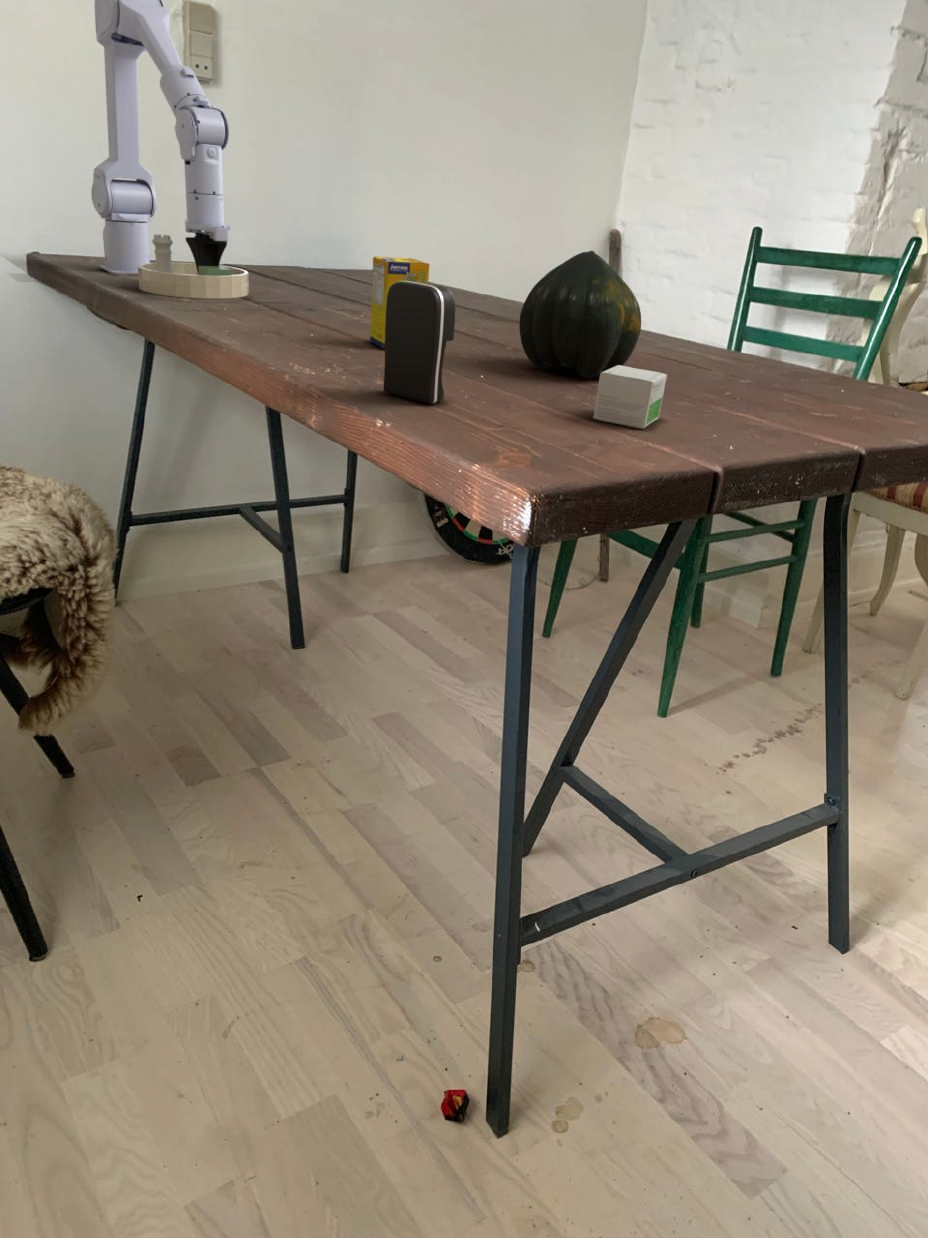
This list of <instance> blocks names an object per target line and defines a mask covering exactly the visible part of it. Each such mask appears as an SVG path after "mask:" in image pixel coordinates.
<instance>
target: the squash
mask: <svg viewBox="0 0 928 1238" xmlns="http://www.w3.org/2000/svg"><path fill="white" fill-rule="evenodd" d="M641 331H642V313H641V307H640V304H639V302H638V299H637V297H636V296H635V294H634V292H633V291H632V289H631V288H630V286H629V285H628V284H627V283H626V282H625V280H623V278H622V277H621V276H620V275H619V273H617V272H616V271H615V269H614V268H613V267H612V266H610V265H609V263H608V262H607V261H606V260H605V259H603V257H601V256H600V255H599V254H597V253H596V252H595V251H594V250H589V251H582V252H580V253H578V254H575V255H573V256H572V257H570V258H569V259H566V260H565V261H564V262H562V263H561V264H559V265H557V266H556V267H554V268H553V269H551V270H550V271H548V272H547V273H546V274H544V276H543V277H541V279H539V280H538V282H536V283H535V284H534V286H533V287H532V288H531V290H530V291H529V293H528V294H527V296H526V298H525V300H524V302H523V305H522V308H521V310H520V313H519V336H520V343H521V347H522V349H523V352H524V353H525V354H524V355H526V357H527V359H528V360H529V361H530V362H531V363H532V364H533V365H534V366H535V367H538V368H539V369H542V370H546V371H553V370H554V371H555V370H558V369H560V368H562V367H564V368H568V369H570V368H573V367H574V370H575V372H576V375H578V376H580V377H581V378H583V379H586V380H588V379H593V378H594V377H596V376H600V374H601V372H604V371H606V370H608V369H611V368H613V367H615V366H617V365H621V366H625V364H626V363H627V361H628V360H629V359H630V357H631V356H632V354H633V352H634V351H635V348H636V346H637V343H638V341H639V337H640V334H641Z"/></svg>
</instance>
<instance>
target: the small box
mask: <svg viewBox="0 0 928 1238" xmlns="http://www.w3.org/2000/svg"><path fill="white" fill-rule="evenodd" d="M667 377H668V374H666V373H664V372H663V373H662V372H659V371H653V370H648V369H642V368H636V367H635V368H634V367H631V366H628V365H627V366H626V365H623V366H621V365H617V366H615V367H613V368H611V369H608V370H606V371H604V372H601V374H600V375H599V379H598V384H597V392H596V398H595V404H594V412H593V416H592V418H593V419H594V420H596V421H601V422H605V423H611V424H616V425H621V426H625V427H630V428H635V429H641V430H644V429H645V428H646V427H648V426H649V425H651V424H652V423H654V422H655V421H657V420H659V417H660V414H661V408H662V403H663V398H664V393H665V387H666V383H667Z"/></svg>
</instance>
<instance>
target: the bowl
mask: <svg viewBox="0 0 928 1238" xmlns="http://www.w3.org/2000/svg"><path fill="white" fill-rule="evenodd" d="M172 266H173V270H174V272H175V273H168V272H160V271H154V270H155V262H150V263H144V264H140V265H138V273H137V277H138V288H139V290H140V291H142V292H144V293H148V294H152V295H158V296H164V297H171V298H172V297H173V298H185V299H205V300H206V299H207V300H208V299H209V300H210V299H211V300H219V299H220V300H224V299H237V298H244V297H247V296H248V295H249V294H250V284H249V283H250V282H249V281H250V280H249V279H250V278H249V275H250V274H249V271H248V270H245V269H242V268H238V267H233V266H227V265H221V264H219V266H222V267H225V268H228V269H231V275H221V276H215V275H198V271H197V267H196V263H195V262H175V261H172Z"/></svg>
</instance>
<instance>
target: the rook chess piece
mask: <svg viewBox="0 0 928 1238" xmlns="http://www.w3.org/2000/svg"><path fill="white" fill-rule="evenodd" d="M151 242H152V244H153V246H154V251H153V252H154V255H155V262H154V263H155V270H154V271H160V272H168V273H175V272H174V270H173V266H172V262H173V261H172V253H173V251H172V250H171V249H172V248H171V247H172V245H173V243H174V241H173V240H172V239H171V235H169V234H168V235H167V234H163V236H162V234H153V239H152V240H151Z"/></svg>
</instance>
